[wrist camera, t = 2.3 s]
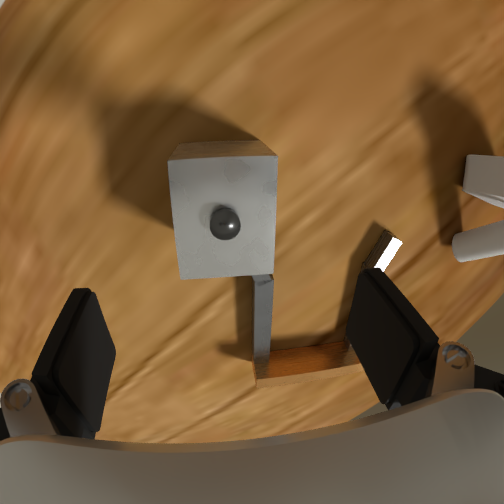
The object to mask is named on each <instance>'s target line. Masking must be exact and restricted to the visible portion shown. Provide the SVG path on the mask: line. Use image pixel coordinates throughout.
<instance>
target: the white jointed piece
mask: <svg viewBox="0 0 504 504" xmlns="http://www.w3.org/2000/svg"><path fill="white" fill-rule="evenodd" d="M462 191H464V192H466V193H468V194H471V195H473V196H475V197H477V198H480V199H482V200H484V201H486V202H488V203H490V204H493V205H495V206H498V207H501V208H504V157H501V156H488V155H467V157H466V166H465V174H464V182H463V189H462ZM452 250H453V254H454V256H455V258H456V259H457V260H458V261H459V262H465V261H470V260H476V259H481V258H486V257H491V256H497V255H502V254H504V220H502V221H499V222H496V223H492V224H489V225H485V226H482V227H478V228H475V229H471V230H468V231H464V232H460V233H457V234H455V235H454V237H453V240H452Z"/></svg>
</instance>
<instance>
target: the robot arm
mask: <svg viewBox="0 0 504 504" xmlns="http://www.w3.org/2000/svg"><path fill="white" fill-rule="evenodd" d="M346 335H347V338H348V340H349V342H350V344H351V346H352V347H353V349H354V351H355V353H356V355H357V357H358V359H359V361H360V363H361V365H362V367H363V369H364V371H365V372H366V374H367V376H368V378H369V380H370V382H371V384H372V386H373V388H374V390H375V392H376V394H377V396H378V398H379V400H380V402H381V403H382V404H385V405H386V407H387V409H388V411H385V412H381V413H378V414H375V415H371V416H368V417H364V418H361V419H357V420H353V421H349V422H345V423H341V424H337V425H332V426H328V427H323V428H318V429H313V430H308V431H303V432H298V433H292V434H286V435H279V436H272V437H265V438H257V439H248V440H238V441H227V442H211V443H184V444H159V443H133V442H118V441H105V440H95V433H96V432H98V431H99V430H100V427H101V421H102V416H103V411H104V406H105V401H106V396H107V391H108V386H109V382H110V378H111V373H112V369H113V365H114V361H115V356H116V350H115V346H114V343H113V341H112V338H111V336H110V333H109V330H108V328H107V325H106V322H105V320H104V317H103V314H102V311H101V308H100V305H99V302H98V299H97V296H96V294H95V293H94V292H91V290H90V289H89V288H75V289H73V291H72V292H71V294H70V296H69V298H68V299H67V301H66V303H65V305H64V307H63V309H62V311H61V313H60V314H59V316H58V318H57V320H56V322H55V324H54V326H53V328H52V330H51V332H50V334H49V336H48V338H47V340H46V343H45V345H44V347H43V349H42V351H41V353H40V356H39V358H38V360H37V362H36V365H35V367H34V369H33V371H32V378H31V380H30V381H29V380H27V379H17V380H14V381H12V382H11V383H9V384H8V385H7V386H6V387H5V388H4V390H3V392H2V394H1V398H0V403H1V408H0V504H504V375H503V374H500V373H497V372H494V371H492V370H489V369H486V368H483V367H480V366H477V365H475V361H474V357H473V355H472V353H471V351H470V350H469V349H468V348H467V347H466V346H464V345H462V344H460V343H458V342H453V341H451V342H445V343H443V344H442V345H441V346H440V345H439V344H438V343H437V342H438V340H439V338H438V337H437V335H436V334H435V333H434V332H433V330H432V329H431V328H430V326H429V325H428V324H427V323H426V321H425V320H424V319H423V318H422V317H421V315H420V314H419V313H418V312H417V310H416V309H415V308H414V307H413V306H412V304H411V303H410V302H409V301H408V300H407V298H406V297H405V296H404V295H403V294H402V293H401V291H400V290H399V289H398V288H397V287H396V286H395V284H394V283H393V282H392V281H391V280H390V279H389V277H388V276H387V275H386V274H385V273H384V272H383V271H382V270H381V269H380V268H378V267H377V268H367V269H364V270H363V272H362V273H360V274H359V276H358V280H357V285H356V289H355V294H354V298H353V302H352V307H351V311H350V315H349V319H348V323H347V327H346ZM86 438H87V439H86Z"/></svg>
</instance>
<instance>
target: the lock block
mask: <svg viewBox="0 0 504 504" xmlns="http://www.w3.org/2000/svg"><path fill="white" fill-rule="evenodd" d="M167 162H168V174H169V186H170V196H171V206H172V216H173V225H174V233H175V241H176V249H177V257H178V264H179V271H180V278H181V280H182V279H200V278H216V277H232V276H247V275H262V274H273V271H274V249H275V225H276V198H277V166H278V156H277V155H276V154H275V153H274V152H273V151H272V150H271V149H270V148H269V147H267V146H266V145H265V144H264V143H263V142H262V141H261V140H230V141H207V142H191V143H179V145H178V146H177V147H176V149H175V150H174V152H173V153H172V155H171V156H170V158H169V159H168V161H167Z"/></svg>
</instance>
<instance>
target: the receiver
mask: <svg viewBox="0 0 504 504" xmlns="http://www.w3.org/2000/svg"><path fill="white" fill-rule="evenodd" d="M401 243H402V242H401V241H400V240H399V239H398V238H397V237H396V236H395V235H394V234H392V233H390V232H388V231H386V230H385V231H384V232H383V234H382V236H381V237H380V239H379V240H378V242H377V244H376V245H375V247H374V248H373V250H372V252H371V253H370V255H369V256H368V258H367V259H366V261H365V262H363V264H362V269H361V273H362V272H363V270H364V269H367V268H377V267H378V268H380V269H381V270H382V271H383V272H384V270H385V268H386V267H387V265H388V264H389V262H390V261H391V259H392V257H393V256H394V254H395V253H396V251H397V250H398V248H399V247H400V245H401ZM251 276H252V365H253V371H254V377H255V382H256V388H264V387H272V386H280V385H288V384H295V383H302V382H308V381H314V380H320V379H326V378H331V377H336V376H341V375H346V374H351V373H356V372H361V371H364V369H363V367H362V365H361V363H360V361H359V359H358V357H357V355H356V353H355V351H354V349H353V347H352V346H351V344H350V342H349V340H348V338H347V335H346V334H345V337H344V341H341V342H335V343H329V344H322V345H316V346H308V347H301V348H293V349H285V350H276V351H270V339H271V322H272V305H273V286H274V279H273V276H272V274H262V275H251Z"/></svg>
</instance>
